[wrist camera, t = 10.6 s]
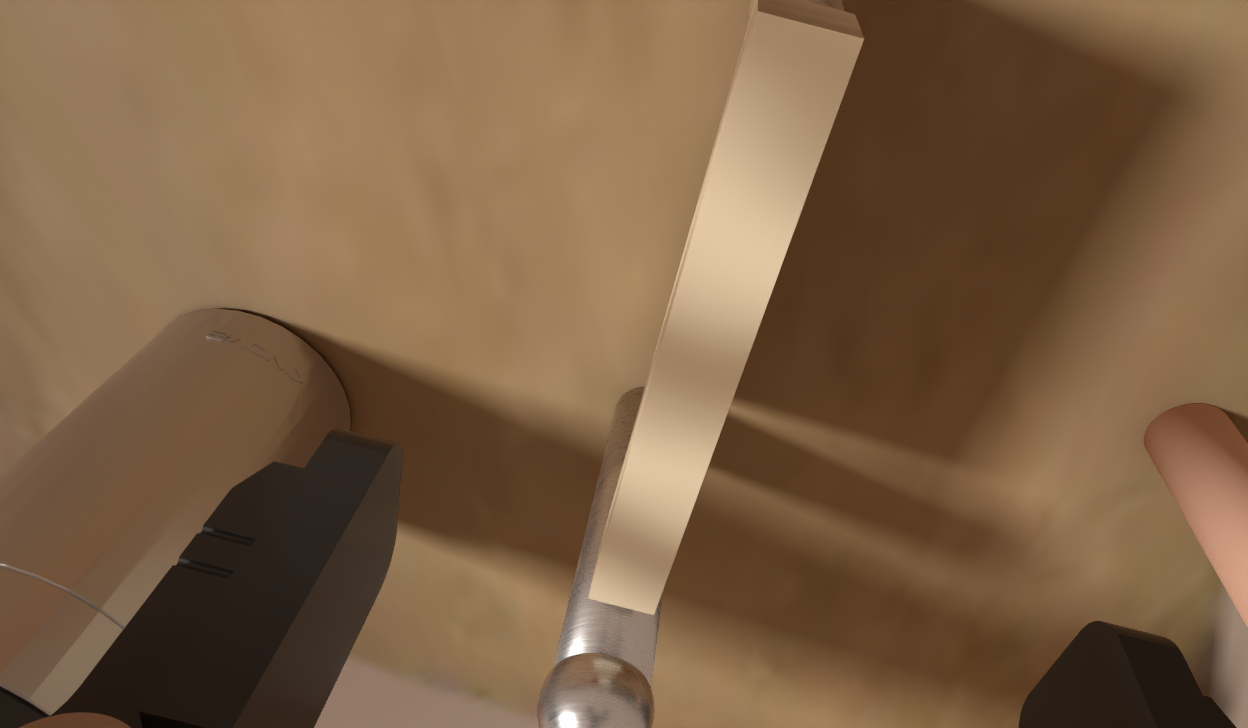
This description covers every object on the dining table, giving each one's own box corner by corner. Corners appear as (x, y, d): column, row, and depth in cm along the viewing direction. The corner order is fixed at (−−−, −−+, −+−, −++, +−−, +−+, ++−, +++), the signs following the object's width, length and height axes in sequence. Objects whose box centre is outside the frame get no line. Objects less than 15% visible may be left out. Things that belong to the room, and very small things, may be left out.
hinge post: (661, 458, 37) (607, 812, 25) (595, 421, 37) (504, 764, 24) (705, 409, 36) (671, 763, 23) (636, 369, 35) (562, 710, 22)
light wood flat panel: (682, 402, 34) (653, 615, 25) (633, 390, 34) (587, 598, 25) (829, -53, 24) (864, 38, 15) (760, -71, 24) (757, 10, 15)
